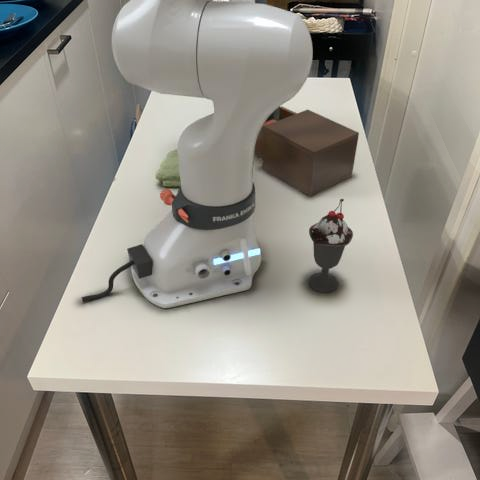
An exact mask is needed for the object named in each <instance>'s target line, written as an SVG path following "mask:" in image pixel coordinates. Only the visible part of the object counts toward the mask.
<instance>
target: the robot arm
mask: <svg viewBox="0 0 480 480" xmlns="http://www.w3.org/2000/svg"><path fill="white" fill-rule="evenodd" d="M267 2H268V0H129V1H128V2H126V3H125V4H124V5H123V6H122V7H121V9H120V10H119V12H118V14H117V15H116V17H115V20H114V23H113V26H112V30H111V31H112V32H111V50H112V56H113V60H114V62H115V64H116V67H117V69H118V70H119V72H120V74H121V76H122V77H123V78H124V79H125V81H126V82H128V83H129V84H131V85H134V86H136V87H138V88H142V89H145V90H148V91H150V92H154V93H158V94H160V95H167V96H168V95H169V96H180V97H188V98H189V97H190V98H200V99H206V100H210V101H211V102H212V104H213V113H211V114H208V115H205V116H203V117H201V118H198V119H197V120H195V121H193V122H191V123H190V124H189V125H188V126H187V127H186V128H185V129H183V130H182V132H181V134H180V136H179V138H178V141H177V147H176V150H177V152H178V162H179V171H180V180H181V185H180V186H178V190H177V193H176V195H175V194H174V193H173V192H172V190H171V189H169V188H164V189H162V190H161V191H160V193H159V199H160V200H161V201H162V202H163V204H164V205H166V206H171V210H170V211H169V213H167V214H166V215H165V217H164V218H162V219H161V221H159V222H158V223H157V224H156V225H155V226H154V227H153V228H152V229H151V230H150V231H149V232H147V234H146V235H145V236H144V238H143V242H142V243H141V244H138V245H134V246H132V247H128V248H126V250H127V255H128V260H129V261H128V262H126V263H125V264H123V265H122V266H119V267H118V268H117V269H116V270H114V271H113V272H112V273H111V274H110V276H109V278H108V285H107V288H106V289H105V290H104V291H103V292H101V293H98V294H90V295H85V296H81V300H82V303H83V302H87V301H94V300H98V299H103V298H105V297H107V296H108V295H109V294H111V293H112V291H113V289H114V281H115V279H116V278H117V276H119V274H121V273H122V272H124V271H126V270H128V269H129V268H130V267H131V276H132V279H133V281H134V284H135V285H136V287H137V289H138V290H139V292H140V293H141V294H142V295H143V296H144V298H145V299H146V300H147V301H148V302H150V303H151V304H153V305H154V306H156V307H159V308H161V309H170V308H174V307H179V306H183V305H187V304H192V303H196V302H201V301H206V300H209V299H214V298H218V297H222V296H227V295H232V294H236V293H240V292H244V291H248V290H250V289H251V288H252V285H253V277H254V275H255V273H256V272H257V271H258V270H259V268H260V266H261V265H262V264H261V263H262V253H261V248H259V245H258V240H257V236H256V235H257V234H256V229H255V220H254V213H255V211H256V185H255V183H254V181H253V180H254V178H253V177H254V162H255V161H254V160H255V154H254V151H255V144H256V140H257V137H258V134H259V132H260V130H261V128H262V126H263V124H264V123H265V121H266V120H267V118H268V117H269V116H270V115H271V114H272V113H273V112H274V111H275V110H276V109H277V108H278V107H282V105H284V104H285V103H287V102H288V101H290V100H292V99H293V98H294V97H295V96H296V95H297V94H298V93H299V92H300V91H301V90H302V88H303V86H305V84H306V81H307V79H308V78H309V75H310V72H311V69H312V65H313V54H314V52H313V51H314V50H313V41H312V36H311V34H310V33H311V32H310V31H309V29H308V26H307V24H306V22H305V21H304V19H303V18H302V16H301V15H300V14H299V13H295V12H292V11H289V10H287V9H283V8H279V7H276V6H273V5H270V4H267Z"/></svg>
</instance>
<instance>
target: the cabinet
mask: <svg viewBox="0 0 480 480" xmlns="http://www.w3.org/2000/svg"><path fill="white" fill-rule="evenodd" d="M296 113H297V112H296ZM359 135H360V132H358V131H357V130H354V129H352V128H349V127H347V126H346V125H342V124H341V123H338V122H337V121H334V120H332V119H330V118H328V117H326V116H324V115H321V114H319V113H316V112H315V111H312V110H310V109H305V110H302V111H300V112H298V113H297V114H295V115H292V116H289V117H287V118H284V119H282V120H279V121H276V122H274V123H271V124H268V125H266V126H264V144H263V159H262V169H263V170H264V171H266V172H267V173H269V174H271V175H272V176H274V177H276V178H277V179H279V180H281V181H282V182H284V183H286V184H288V185H290V186H291V187H293V188H295V189H296V190H298V191H300V192H302V193H303V194H305V195H307V196H308V197H311V196H314V195H316V194H318V193H320V192H322V191H324V190H326V189H328V188H331V187H333V186H335V185H336V184H338V183H340V182H342V181H345V180H346V179H349V178H350V177H352V176H353V172H354V171H353V170H354V166H355V160H356V155H357V154H356V153H357V147H358V143H359Z"/></svg>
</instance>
